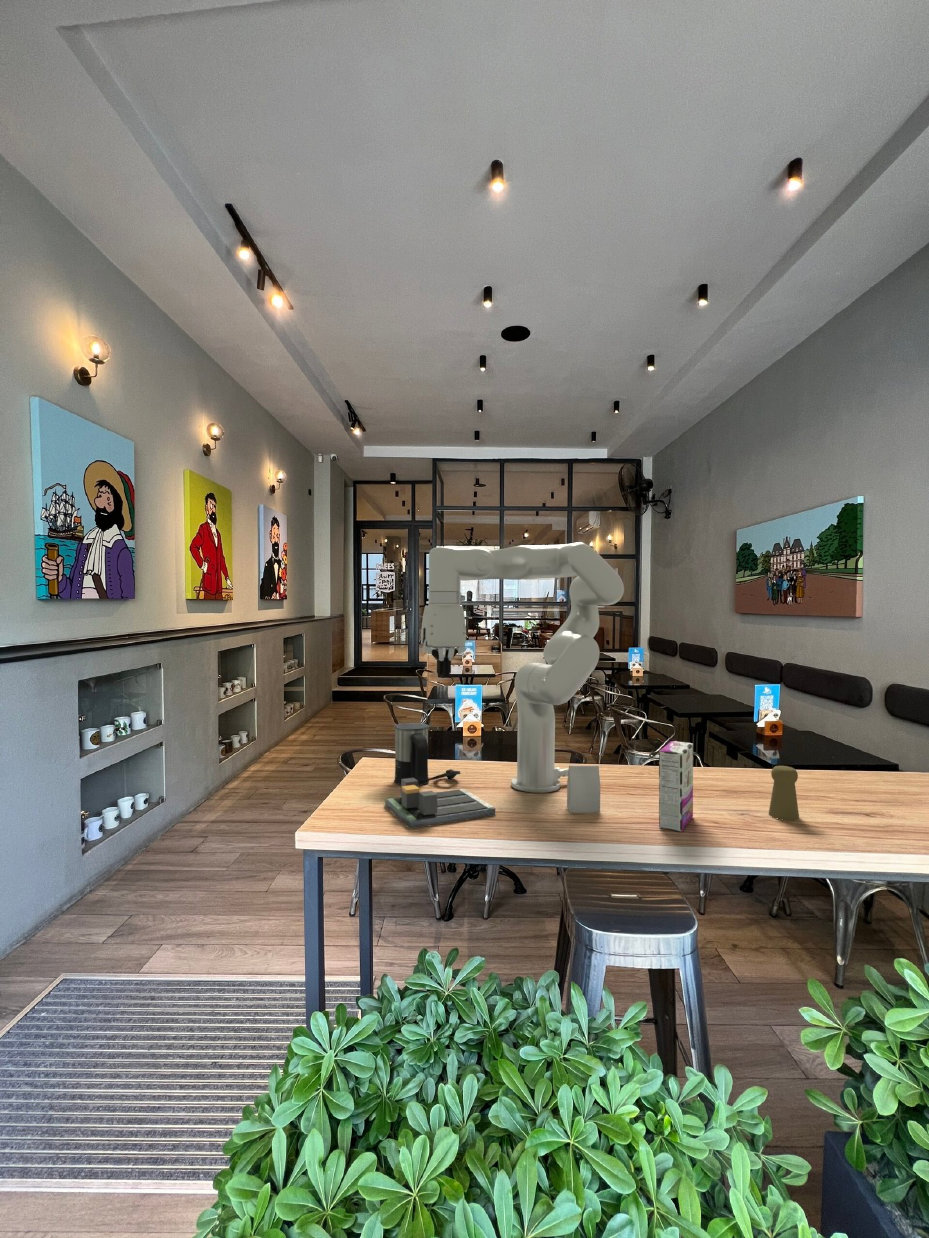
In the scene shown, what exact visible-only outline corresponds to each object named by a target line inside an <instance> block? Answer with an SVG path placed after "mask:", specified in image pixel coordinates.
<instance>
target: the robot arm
mask: <svg viewBox="0 0 929 1238" xmlns="http://www.w3.org/2000/svg"><path fill="white" fill-rule="evenodd" d="M570 577H575V578H573V580H572V581H571V583H570V586H569V591H568V592H569V599H570V605H571V607H570V613H569V615H568V617H567V618H566V620H565V621H564V622H563V624H562V625H561V626H560V627H559V628H558V629H557V631H556V632H555V633H554V634H553V636H552V637H551V638H550V639H549V640H548V641H547V642H546V645H545V646H544V649H543V659H544V661H545V662H546V663H541V662H529V663H526V664H523V665H522V666H521V667H520V668H519V669H518V670H517V672H516V674H515V677H514V691H515V697H516V705H517V707H516V708H517V740H516V741H517V743H516V744H517V749H516V751H517V752H516V753H517V756H516V757H517V761H516V762H517V763H516V768H517V769H516V776H515V777H513V778H512V779H511V780H510V786H511V787H512V788H513V789H515V790H517V791H520V792H525V793H534V794H537V793H538V794H539V793H540V794H541V793H542V794H543V793H545V794H546V793H553V792H556V791H558V790H559V789H560V788H561V782H560V780H559V779H560V778H561V777H563V778H564V777H568V770H569V768H562V769H561V768H560V767H556V766H555V755H556V754H555V751H556V750H555V749H556V748H555V746H556V745H555V744H556V743H555V742H556V741H555V740H556V737H555V736H556V734H555V733H556V729H555V728H556V716H555V715H556V714H555V708H554V706H559V705H562V704H565V703H567V702H568V701H570V700H571V699H572V697H573V696H574V695H575V694H576V693H577V692H578V690H579V689H581V687H582V685H583V684H584V683H585V682H586V680H587V679H588V678H589V676H590V675H591V674H592V673H593V671H594V670H595V669H596V667H597V665H598V662H599V660H600V653H601V652H600V647H599V644H598V643H597V641H596V640H595V636H596V634H597V633H598V631H599V628H600V613H599V606H611V605H615V604H616V603H618V602H619V601H620V600H621V599H622V597H623V596H624V593H625V585H624V582H623V580H622V578H621V576H620V575H619V573H618V572H617V571H616V570H614V568H613V567H612V566H611V565H610V564H609V563H608V561H606V560H605V559H604V558H603V557H602V556H601V555H600V554H599V553H598V552H597V551H596V550H595V549H594V548H592V547H591V546H590V545H588V544H586V543H584V542H580V541H579V542H572V543H565V544H548V545H547V544H546V545H545V544H542V545H539V544H538V545H535V544H534V545H529V544H528V545H527V544H526V545H524V544H523V545H517V546H511V547H506V548H500V549H499V548H498V549H493V550H492V549H490V550H488V549H485V548H483V547H469V548H456V547H450V546H438V547H433V548H431V549H430V551H429V553H428V605H425V606H424V610H423V615H422V621H421V622H422V623H421V631H420V632H421V634H420V641H421V642H420V645H422V649H421V651H422V652H423V653H427V654H428V655H431V656H432V657H433V658H434V660H435V661H436V673H437V676H438V678H442V679H446V678H447V679H448V678H450V677H451V676H450V675H451V673H452V661H453V660H454V658H455V657H456V656H457V654H460V653H463V652H465V651H466V647H465V646H466V642H467V626H466V625H467V624H466V617H465V611H464V607H463V605H461V604H462V602H465V600H466V595H464V594H463V595H462V592H461V582H462V581H477V580H478V581H483V580H484V581H485V580H512V581H513V580H514V581H515V580H516V581H517V580H536V579H538V580H539V579H556V578H557V579H558V578H570Z"/></svg>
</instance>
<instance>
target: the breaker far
mask: <svg viewBox="0 0 929 1238" xmlns="http://www.w3.org/2000/svg"><path fill="white" fill-rule="evenodd" d="M410 785H415V786H417V787H418V788H419V785H418V781H417V780H416V779H415V778H407V779H401V785H400V793H401V794H400V797H402V786H410Z"/></svg>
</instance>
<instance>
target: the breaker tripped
mask: <svg viewBox="0 0 929 1238" xmlns="http://www.w3.org/2000/svg"><path fill="white" fill-rule="evenodd" d="M419 792H420V787H419V786H418V787H417V786H415V785H410V786H402V805H403V806H404V807H405V808H406V809H407V808H414V807H419Z"/></svg>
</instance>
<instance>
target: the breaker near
mask: <svg viewBox="0 0 929 1238" xmlns="http://www.w3.org/2000/svg"><path fill="white" fill-rule="evenodd" d="M419 812H421V813H422V814H423V815H429V814H436V813H437V794H436V792H435V791H433V790H426V791H419Z"/></svg>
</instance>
